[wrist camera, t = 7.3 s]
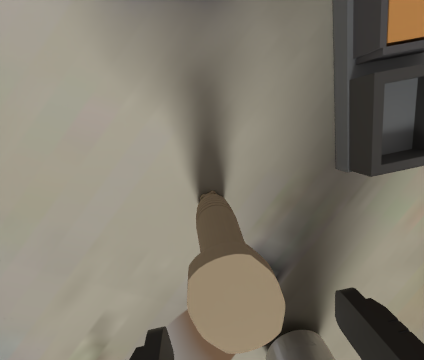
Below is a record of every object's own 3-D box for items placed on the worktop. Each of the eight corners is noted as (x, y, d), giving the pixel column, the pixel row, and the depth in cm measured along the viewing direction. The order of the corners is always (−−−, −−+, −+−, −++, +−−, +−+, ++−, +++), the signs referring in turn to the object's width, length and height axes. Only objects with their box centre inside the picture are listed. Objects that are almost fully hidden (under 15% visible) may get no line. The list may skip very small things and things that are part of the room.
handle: (220, 171, 24) (262, 240, 10) (238, 217, 26) (296, 332, 11) (182, 186, 24) (168, 278, 10) (202, 231, 26) (216, 364, 12)
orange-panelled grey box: (403, 154, 26) (452, 161, 21) (335, 168, 25) (369, 178, 21) (418, -42, 20) (488, -94, 16) (332, -28, 20) (376, -76, 15)
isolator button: (426, 40, 20) (452, 31, 18) (368, 51, 20) (387, 43, 18) (433, -36, 18) (462, -55, 16) (370, -26, 18) (391, -44, 16)
